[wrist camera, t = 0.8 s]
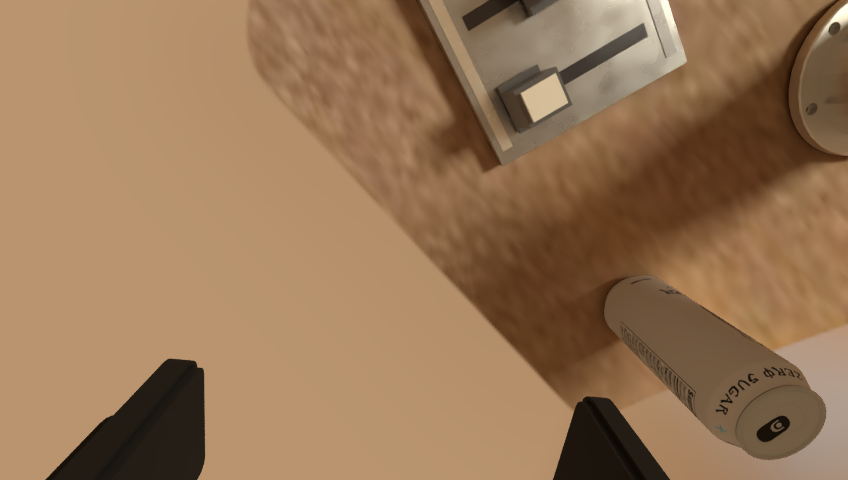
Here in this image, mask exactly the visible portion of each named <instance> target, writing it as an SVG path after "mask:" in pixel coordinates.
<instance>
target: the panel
mask: <svg viewBox="0 0 848 480" xmlns="http://www.w3.org/2000/svg"><path fill="white" fill-rule="evenodd" d="M417 2H418V4H419V6H420V8H421V10H422V12H423V14H424V16H425V18H426V20H427V22H428V24H429V26H430V28H431V30H432V32H433V34H434V36H435V37H436V39H437V41H438V43H439V45H440V47H441V49H442V51H443V53H444V55H445V57H446V59H447V61H448V63H449V65H450V67H451V69H452V71H453V73H454V75H455V77H456V79H457V81H458V83H459V85H460V87H461V89H462V91H463V93H464V95H465V97H466V99H467V101H468V103H469V105H470V107H471V109H472V111H473V113H474V115H475V117H476V119H477V121H478V123H479V125H480V127H481V129H482V131H483V133H484V135H485V137H486V139H487V141H488V143H489V145H490V147H491V149H492V151H493V153H494V155H495V157H496V159H497V161H498V163H499V165H501V166H505V165H506V164H508V163H510V162H512V161H514V160H515V159H517V158H519V157H521V156H522V155H524V154H526V153H528V152H529V151H531V150H533V149H535V148H536V147H538V146H540V145H542V144H543V143H545V142H547V141H549V140H551V139H552V138H554V137H556V136H558V135H559V134H561V133H563V132H565V131H566V130H568V129H570V128H572V127H573V126H575V125H577V124H579V123H580V122H582V121H584V120H586V119H588V118H589V117H591V116H593V115H595V114H596V113H598V112H600V111H602V110H603V109H605V108H607V107H609V106H610V105H612V104H614V103H616V102H617V101H619V100H621V99H623V98H624V97H626V96H628V95H630V94H632V93H633V92H635V91H637V90H639V89H640V88H642V87H644V86H646V85H647V84H649V83H651V82H653V81H654V80H656V79H658V78H660V77H661V76H663V75H665V74H667V73H669V72H670V71H672V70H674V69H676V68H677V67H679V66H681V65H683V64H684V63H686V62H687V59H686V56H685V53H684V50H683V47H682V44H681V41H680V37H679V34H678V31H677V28H676V25H675V22H674V19H673V16H672V13H671V9H670V6H669V3H668V0H557V1H556V2H554V3H552V4H551V5H549V6H547V7H546V8H544V9H543V10H541V11H539V12H538V13H536V14H534V15H533V16H531V17H530V15H529V13H528V11H527V8H526V6H525V4H524V1H523V0H417ZM537 64H538V67H539V69H540V71H542V70H546V69H549V68H552V67H557V69H558V71H559V74H560V76H561V78H562V81H563V83H564V85H565V88H566V90H567V93H568V95H569V97H570V100H571V102H572V104H573V105H571V106H570V107H568V108H566V109H564V110H563V111H561V112H559V113H557V114H556V115H554V116H552V117H550V118H549V119H547V120H545V121H544V122H542V123H540V124H538V125H537V126H535V127H533V128H531V129H528V130H526V131H524V132H523V133H521V134H520V133H518V131H517V129H516V127H515V125H514V123H513V121H512V119H511V117H510V115H509V112H508V110H507V108H506V106H505V104H504V102H503V100H502V98H501V96H500V93H499V91H498V89H497V87H499V86H500V85H502V84H504V83H506V82H507V81H509V80H511V79H512V78H514V77H516V76H517V75H519V74H521V73H522V72H524V71H526V70H528V69H529V68H531V67H533V66H534V65H537Z"/></svg>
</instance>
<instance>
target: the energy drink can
mask: <svg viewBox="0 0 848 480" xmlns="http://www.w3.org/2000/svg"><path fill="white" fill-rule="evenodd" d="M604 316H605V320H606V323H607V325H608V326H609V327H610V329H611V330H612V331H613V332H614V333H615V334H616V335H617V336H618V337H619V338H620V339H621V340H622V341H623V342H624V343H625V344H626V345H627V346H628V347H629V348H630V349H631V350H632V351H633V352H634V353H635V354H636V356H637V357H638V358H639V359H640V360H641V361H642V362H643V363H644V364H645V365H646V366H647V367H648V368H649V369H650V370H651V371H652V372H653V373H654V374H655V375H656V376H657V377H658V378H659V379H660V380H661V381H662V382H663V383H664V384H665V385H666V386H667V387H668V388H669V389H670V390H671V392H672V393H673V394H675V396H676V397H677V398H678V399H679V400H680V401H681V402H682V403H683V404H684V405H685V406H686V407H687V408H688V409H689V410H690V411H691V412H692V413H693V414H694V415H695V416H696V417H697V418H698V419H699V420H700V421H701V422H702V423H703V424H704V425H705V427H706V428H707V429H709V431H710V432H711V433H712V434H714V435H715V436H716V437H717V438H718V439H720V440H722V441H724V442H726V443H729V444H732V445H735V446H738V447H740V448H742V449H743V450H744V451H746V452H747V453H748V454H749V455H751V456H753V457H755V458H759V459H765V460H774V459H780V458H784V457H788V456H790V455H792V454H795V453H797V452H798V451H800V450H802V449H803V448H805V447H806V446H807V445H809V444H810V443H811V442H812V441H813V440H814V439H815V438H816V436H817V435H818V434H819V432H820V431H821V429H822V427H823V425H824V422H825V419H826V407H825V404H824V402H823V400H822V398H821V397H820V396H819V395H818V394H817V393H816V392H814V391H812V390H811V389H810V387H809V385H808V383H807V381H806V379H805V377H804V375H803V373H802V372H801V371H800V370H799V369H798V368H797V367H796V366H795V365H793V364H792V363H790V362H788V361H787V360H785V359H784V358H782V357H781V356H779V355H778V354H776V353H774V352H773V351H771V350H770V349H768V348H767V347H765V346H764V345H762V344H760V343H759V342H757V341H756V340H754V339H753V338H751V337H749V336H748V335H746V334H745V333H743V332H742V331H740V330H739V329H737V328H735V327H734V326H732V325H731V324H729V323H728V322H726V321H724V320H723V319H721V318H720V317H718V316H717V315H715V314H714V313H712V312H710V311H709V310H707V309H706V308H704V307H703V306H701V305H700V304H698V303H696V302H695V301H693V300H692V299H690V298H689V297H687V296H685V295H684V294H682V293H681V292H679V291H678V290H676V289H675V288H673V287H671V286H670V285H668V284H667V283H665V282H664V281H662V280H660V279H659V278H657V277H654V276H650V275H638V276H634V277H630V278H626V279H624V280H622V281H620V282H619V283H617V284H616V285H615V286H614V287H613V288H612V289H611V290H610V292H609V293H608V295H607V298H606V301H605V307H604Z"/></svg>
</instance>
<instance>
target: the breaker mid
mask: <svg viewBox="0 0 848 480" xmlns="http://www.w3.org/2000/svg"><path fill="white" fill-rule="evenodd" d="M523 1H524V4H525V6H526V8H527V11H528V13H529V15H530V17H531V16H533V15H534V14H536V13H538V12H539V11H541V10H543V9H544V8H546V7H547V6H549V5H551V4H552V3H554V2H556V1H557V0H523Z"/></svg>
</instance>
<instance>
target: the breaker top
mask: <svg viewBox="0 0 848 480" xmlns="http://www.w3.org/2000/svg"><path fill="white" fill-rule="evenodd" d="M497 89H498V91H499V93H500V96H501V98H502V100H503V102H504V104H505V106H506V108H507V110H508V112H509V115H510V117H511V119H512V121H513V123H514V125H515V127H516V129H517V131H518V133H520V134H521V133H523V132H524V131H526V130H528V129H531V128H533V127H535V126H537V125H538V124H540V123H542V122H544V121H545V120H547V119H549V118H550V117H552V116H554V115H556V114H557V113H559V112H561V111H563V110H564V109H566V108H568V107H570V106H571V105H573V104H572V102H571V100H570V97H569V95H568V93H567V90H566V88H565V85H564V83H563V81H562V78H561V76H560V74H559V71H558V69H557V67H552V68H549V69H546V70H542V71H540V69H539V67H538V64H537V65H534V66H533V67H531V68H529V69H528V70H526V71H524V72H522V73H521V74H519V75H517V76H516V77H514V78H512V79H511V80H509V81H507V82H506V83H504V84H502V85H500V86H499V87H497Z"/></svg>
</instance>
